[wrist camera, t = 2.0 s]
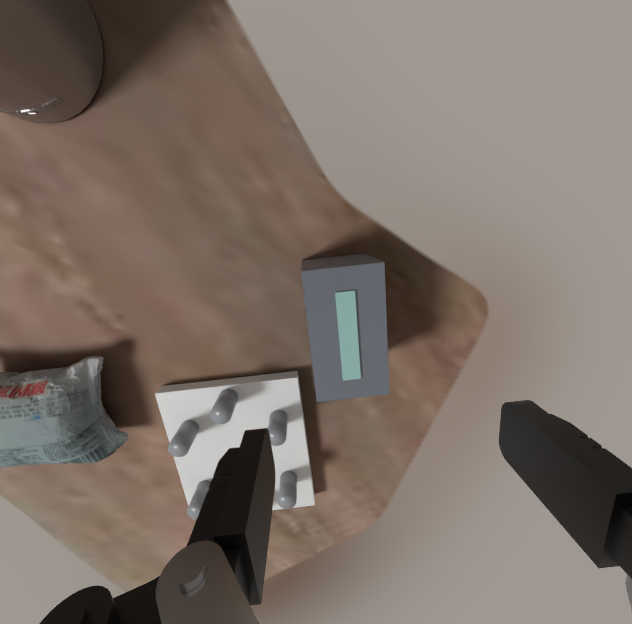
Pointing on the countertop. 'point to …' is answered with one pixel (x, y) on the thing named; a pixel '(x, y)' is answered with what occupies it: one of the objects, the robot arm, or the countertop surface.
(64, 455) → the packaged food
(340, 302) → the block
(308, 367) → the countertop surface
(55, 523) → the countertop surface
